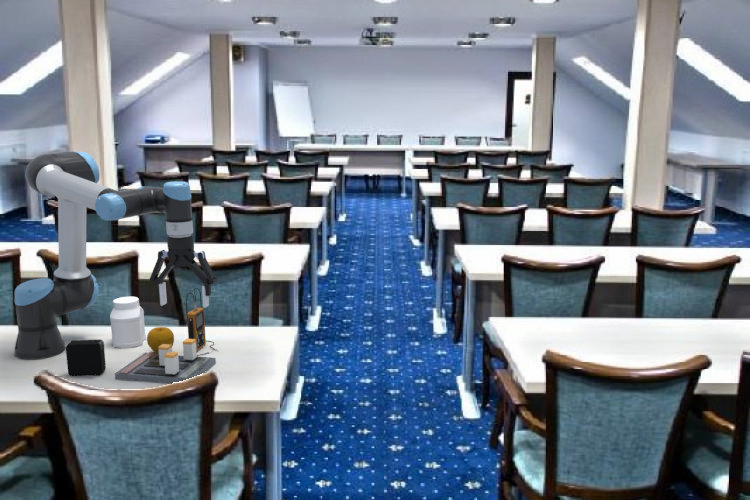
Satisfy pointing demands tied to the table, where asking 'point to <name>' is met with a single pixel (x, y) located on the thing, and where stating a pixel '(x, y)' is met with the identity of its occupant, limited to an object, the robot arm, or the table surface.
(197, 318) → the multimeter
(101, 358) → the electronic device
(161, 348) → the block
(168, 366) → the breaker near
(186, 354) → the breaker far
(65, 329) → the table surface
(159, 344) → the apple
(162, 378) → the panel
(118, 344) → the jar
